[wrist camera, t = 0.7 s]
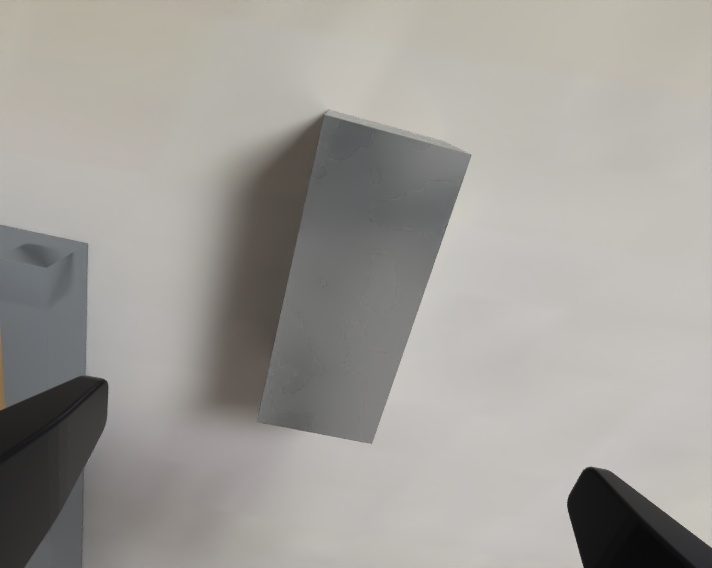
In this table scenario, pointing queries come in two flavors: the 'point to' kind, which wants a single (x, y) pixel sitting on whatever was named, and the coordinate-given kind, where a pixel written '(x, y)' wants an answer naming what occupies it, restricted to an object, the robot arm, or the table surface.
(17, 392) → the grey divided tray
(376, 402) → the block
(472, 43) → the table surface
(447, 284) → the table surface
